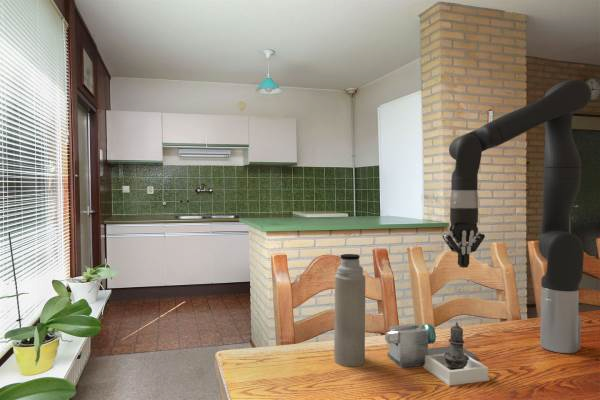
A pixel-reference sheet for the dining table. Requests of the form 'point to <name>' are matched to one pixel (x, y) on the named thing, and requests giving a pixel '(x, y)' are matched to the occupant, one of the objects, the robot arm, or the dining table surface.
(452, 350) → the dark grey turned piece
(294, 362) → the dining table surface
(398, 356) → the bearing block
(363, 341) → the thermos bottle
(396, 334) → the shaft
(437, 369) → the holder
